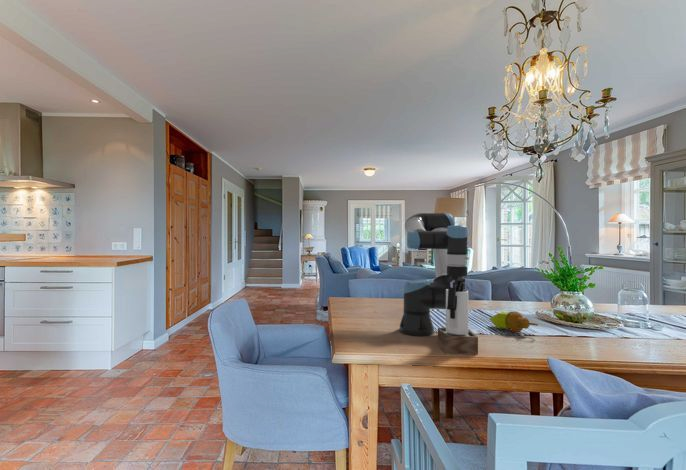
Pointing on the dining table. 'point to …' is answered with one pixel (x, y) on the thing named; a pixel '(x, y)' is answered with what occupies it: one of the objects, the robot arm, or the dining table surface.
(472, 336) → the brown wooden square box
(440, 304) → the robot arm
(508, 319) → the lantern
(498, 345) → the dining table surface
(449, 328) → the cup
